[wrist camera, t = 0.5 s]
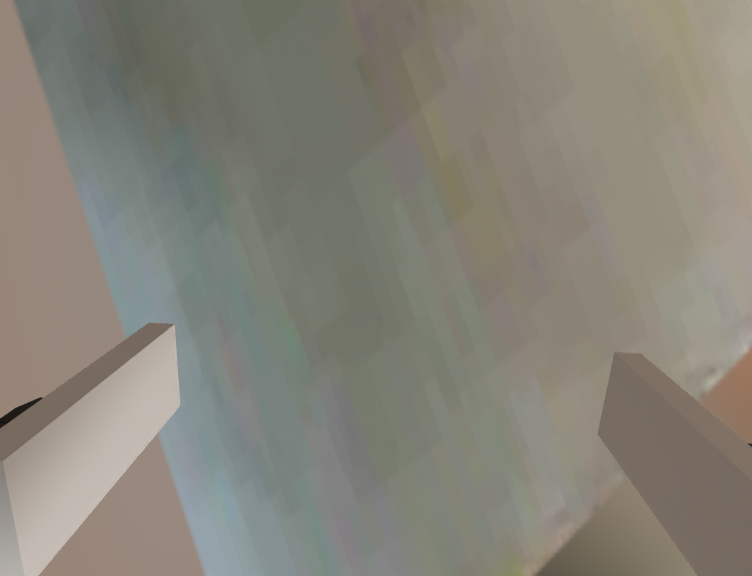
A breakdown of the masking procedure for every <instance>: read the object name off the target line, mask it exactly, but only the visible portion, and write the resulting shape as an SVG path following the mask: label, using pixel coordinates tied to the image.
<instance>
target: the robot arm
mask: <svg viewBox="0 0 752 576" xmlns="http://www.w3.org/2000/svg"><path fill="white" fill-rule="evenodd" d="M179 407H180V397H179V383H178V368H177V354H176V339H175V325H174V324H163V323H148V324H147V325H145V326H144V327H143V328H141V329H140V330H138V331H137V332H136V333H134V334H133V335H131V336H130V337H128V338H127V339H126V340H124V341H123V342H121V343H120V344H119V345H117V346H116V347H114V348H113V349H112V350H110V351H109V352H107V353H106V354H105V355H103V356H102V357H100V358H99V359H98V360H96V361H95V362H93V363H92V364H91V365H89V366H88V367H87V368H85V369H83V370H82V371H81V372H79V373H78V374H77V375H75V376H74V377H72V378H71V379H69V380H68V381H67V382H65V383H64V384H62V385H61V386H60V387H58V388H57V389H55V390H54V391H53V392H51V393H50V394H48V395H47V396H46V397H44V398H41V397H40V398H38V399H36V400H33V401H31V402H28V403H26V404H24V405H21V406H19V407H17V408H15V409H14V410H12V411H11V412H9V413H8V414H6V415H5V416H4V417H2V418H0V576H38V575H39V574H40V573H41V571H42V570H43V569H44V568H45V567H46V566H47V564H48V563H49V562H50V561H51V560H52V558H53V557H54V556H55V555H56V554H57V552H58V551H59V550H60V549H61V548H62V546H63V545H64V544H65V543H66V542H67V541H68V539H69V538H70V537H71V536H72V534H73V533H74V532H75V531H76V530H77V529H78V527H79V526H80V525H81V524H82V523H83V521H84V520H85V519H86V518H87V516H88V515H89V514H90V513H91V512H92V511H93V509H94V508H95V507H96V506H97V505H98V503H99V502H100V501H101V500H102V498H103V497H104V496H105V495H106V494H107V493H108V491H109V490H110V489H111V488H112V487H113V485H114V484H115V483H116V482H117V481H118V479H119V478H120V477H121V476H122V475H123V474H124V472H125V471H126V470H127V469H128V468H129V466H130V465H131V464H132V463H133V462H134V460H135V459H136V458H137V457H138V456H139V454H140V453H141V452H142V451H143V450H144V448H145V447H146V446H147V445H148V444H149V442H150V441H151V440H152V439H153V438H154V436H155V435H156V434H157V433H158V432H159V430H160V429H161V428H162V427H163V426H164V424H165V423H166V422H167V421H168V420H169V418H170V417H171V416H172V415H173V414H174V412H175V411H176V410H177V409H178V408H179ZM598 435H599V436H600V438H601V439H602V441H603V442H604V443H605V445H606V446H607V448H608V449H609V451H610V452H611V453H612V455H613V456H614V458H615V459H616V461H617V462H618V463H619V465H620V466H621V468H622V469H623V470H624V472H625V473H626V475H627V476H628V478H629V479H630V480H631V482H632V483H633V485H634V486H635V487H636V489H637V490H638V492H639V493H640V495H641V496H642V497H643V499H644V500H645V502H646V503H647V505H648V506H649V507H650V509H651V510H652V512H653V513H654V515H655V516H656V517H657V519H658V520H659V522H660V523H661V525H662V526H663V527H664V529H665V530H666V532H667V533H668V534H669V536H670V537H671V539H672V540H673V542H674V543H675V544H676V546H677V547H678V549H679V550H680V552H681V553H682V554H683V556H684V557H685V559H686V560H687V561H688V563H689V564H690V566H691V567H692V569H693V570H694V571H695V573H696V574H697V576H752V444H747V443H746V442H745V441H744V440H742V439H741V438H740V437H739V436H738V435H737V434H735V433H734V432H733V431H732V430H731V429H729V428H728V427H727V426H726V425H725V424H724V423H722V422H721V421H720V420H719V419H718V418H716V417H715V416H714V415H713V414H712V413H710V412H709V411H708V410H707V409H706V408H705V407H703V406H702V405H701V404H700V403H699V402H697V401H696V400H695V399H694V398H693V397H692V396H690V395H689V394H688V393H687V392H686V391H684V390H683V389H682V388H681V387H680V386H678V385H677V384H676V383H675V382H674V381H673V380H671V379H670V378H669V377H668V376H667V375H665V374H664V373H663V372H662V371H661V370H660V369H658V368H657V367H656V366H655V365H654V364H652V363H651V362H650V361H649V360H648V359H647V358H645V357H644V356H643V355H642V354H637V353H621V352H615V353H614V357H613V362H612V367H611V372H610V377H609V382H608V387H607V391H606V396H605V401H604V406H603V411H602V416H601V421H600V425H599V430H598Z"/></svg>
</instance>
